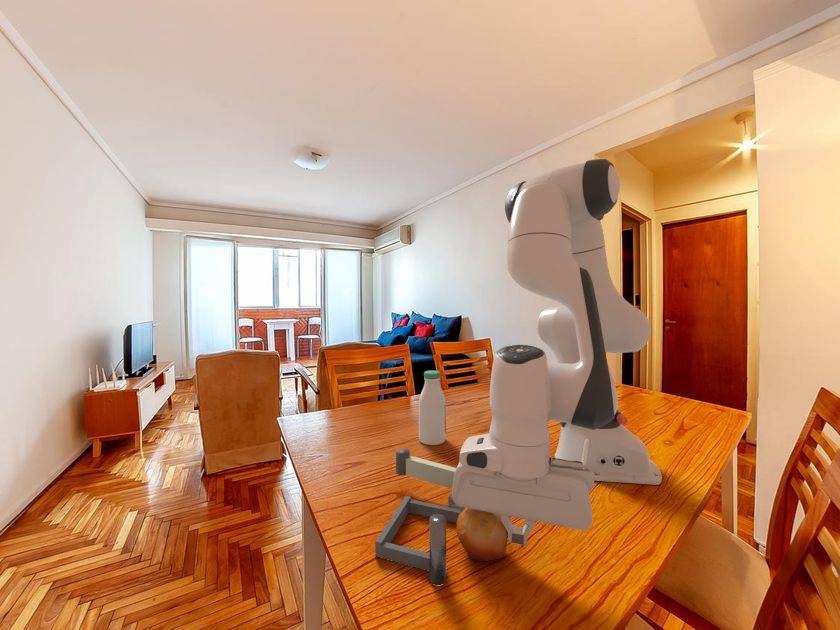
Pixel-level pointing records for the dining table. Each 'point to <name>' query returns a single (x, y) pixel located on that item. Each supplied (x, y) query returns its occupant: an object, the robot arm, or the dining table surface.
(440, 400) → the milk bottle
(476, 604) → the dining table surface
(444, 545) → the post
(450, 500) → the base
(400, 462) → the gate
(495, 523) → the fruit
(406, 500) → the gray frame
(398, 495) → the dining table surface
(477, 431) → the dining table surface
